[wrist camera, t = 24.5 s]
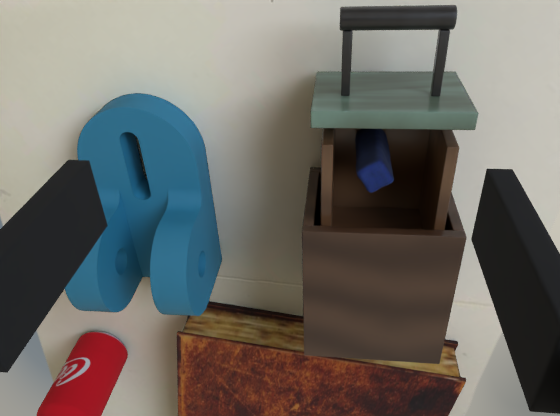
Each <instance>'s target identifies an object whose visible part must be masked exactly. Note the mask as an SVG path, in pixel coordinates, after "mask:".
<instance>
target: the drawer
mask: <svg viewBox="0 0 560 416" xmlns="http://www.w3.org/2000/svg"><path fill="white" fill-rule="evenodd" d="M456 19H457V7H456V5H429V6H362V7H341V8H340V30H343V45H342V72H317V75H316V81H315V88H314V94H313V100H312V107H311V128H323V134H322V145H321V226H339V227H367V228H396V229H424V230H444V229H445V224H446V218H447V213H448V207H449V202H450V196H451V191H452V185H453V180H454V174H455V169H456V163H457V158H458V152H459V146H458V143H457V141H456V138H455V136H454V134H453V131H452V130H475V127H476V122H477V117H478V112H477V110H476V108H475V106H474V104H473V102H472V101H471V99H470V97H469V95H468V93H467V92H466V90H465V88H464V86H463V84H462V82H461V81H460V79H459V77H458V75H457V73H456V72H444V68H445V61H446V54H447V47H448V41H449V34H450V30H449V29H454V27H455V24H456ZM352 30H439V32H438V39H437V47H436V54H435V62H434V69H433V72H351V54H352ZM361 129H382V130H383V131H384V132H385V134H386V136H387V141H388V145H389V151H390V157H391V158H390V160H391V167H392V171H393V177H394V181H393V182H392V183H391V184H389V185H386V186H384V187H382V188H380V189H378V190H377V191H375V192H373V193H370V192H368V191H367V190H366V188H365V186H364V184H363V183H362V181H361V180H360V179H359V178H358V176H357V173H356V149H355V147H356V144H355V138H356V133H357V132H358V131H359V130H361Z"/></svg>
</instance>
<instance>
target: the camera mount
mask: <svg viewBox="0 0 560 416" xmlns="http://www.w3.org/2000/svg"><path fill="white" fill-rule="evenodd" d="M135 136H136V137H137V138H138V140H139V144H140V148H141V153H142V157H143V161H144V166H145V170H146V174H147V179H148V180H147V179H146V178H145V176H144V173H143V168H142V164H141V160H140V156H139V151H138V147H137V143H136V139H135ZM77 153H78V160H89V161H90V165H91V168H92V172H93V175H94V179H95V183H96V186H97V190H98V193H99V197H100V200H101V204H102V207H103V211H104V214H105V218H106V221H107V225H108V226H107V227H106V229H105V230H104V232H103V233H102V235H101V236H100V238H99V239H98V241H97V242H96V243H95V245H94V246H93V248H92V249H91V251H90V252H89V254H88V255H87V257H86V258H85V260H84V261H83V263H82V264H81V265H80V267H79V268H78V270H77V271H76V273H75V274H74V276H73V277H72V279H71V280H70V282H69V283H68V284H67V286H66V287H65V291H66V294H67V296H68V298H69V300H70V302H71V303H72V305H73V306H74V307H75V308H77V309H79V310H82V311H103V312H119V311H121V310H123V309H124V308H125V307H126V306H127V305H128V304H129V302H130V301H131V299H132V297H133V295H134V293H135V291H136V289H137V287H138V285H139V283H140V281H141V279H142V277H150V282H151V291H152V296H153V300H154V303H155V305H156V307H157V309H158V311H159V312H160V313H162V314H168V315H190V316H200V315H201V314H202V313H203V312H204V311H205V309H206V307H207V305H208V302H209V299H210V296H211V293H212V289H213V286H214V283H215V280H216V277H217V274H218V271H219V268H220V265H221V262H222V256H221V249H220V243H219V236H218V229H217V223H216V216H215V210H214V203H213V196H212V190H211V183H210V176H209V170H208V163H207V157H206V150H205V145H204V142H203V139H202V136H201V134H200V132H199V130H198V129H197V127H196V126H195V124H194V123H193V122H192V120H191V119H190V118H189V117H188V116H187V115H186V114H185V113H184V112H183V111H182V110H180V109H179V108H178V107H176V106H175V105H173V104H172V103H170V102H168V101H166V100H164V99H161V98H159V97H156V96H152V95H148V94H139V93H135V94H127V95H123V96H120V97H118V98H115V99H113V100H112V101H110V102H109V103H107V104H106V105H105V106H104V107H103V108H102V109H101V110H100V111H99V112H98V113H97V114H96V115H95V116H94V117H93V118H91V119H90V120H89V121H88V123H87V124H86V125H85V126H84V128H83V130H82V132H81V134H80V137H79V140H78V147H77Z"/></svg>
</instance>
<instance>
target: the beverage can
mask: <svg viewBox="0 0 560 416" xmlns="http://www.w3.org/2000/svg"><path fill="white" fill-rule="evenodd" d="M127 356H128V353H127V349H126V347H125V346H124V344H123V343H122V342H121V341H120V340H119V339H118V338H116V337H115V336H113V335H111V334H109V333H105V332H89V333H85V334H83V335H82V336H81V337H80V338H79V340H78V341H77V343H76V345H75V347H74V348H73V350H72V352H71V353H70V355H69V357H68V359H67V360H66V362H65V364H64V366H63V367H62V369H61V371H60V373H59V374H58V376H57V378H56V380H55V381H54V383H53V385H52V387H51V388H50V390H49V392H48V394H47V395H46V397H45V399H44V400H43V402H42V404H41V406H40V407H39V409H38V412H37V416H101V415H102V413H103V410H104V408H105V406H106V404H107V401H108V399H109V397H110V395H111V393H112V390H113V388H114V386H115V384H116V382H117V379H118V377H119V375H120V373H121V371H122V368H123V366H124V364H125V362H126V360H127Z"/></svg>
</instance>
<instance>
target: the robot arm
mask: <svg viewBox="0 0 560 416" xmlns="http://www.w3.org/2000/svg"><path fill="white" fill-rule="evenodd" d="M107 226H108V225H107V221H106V218H105V214H104V211H103V207H102V204H101V200H100V197H99V193H98V190H97V186H96V183H95V179H94V175H93V172H92V168H91V165H90V161H89V160H68V161H67V162H66V163H65V164H64V165H63V166H62V167H61V168H60V169H59V170H58V171H57V172H56V173H55V174H54V175H53V176H52V177H51V178H50V179H49V180H48V181H47V182H46V183H45V184H44V185H43V186H42V187H41V188H40V189H39V190H38V191H37V192H36V193H35V194H34V195H33V196H32V197H31V198H30V200H29V201H28V202H27V203H26V204H25V205H24V206H23V207H22V208H21V209H20V210H19V211H18V212H17V213H16V214H15V215H14V216H13V217H12V218H11V219H10V220H9V221H8V222H7V223H6V224H5V225H4V226H3V227H2V228H1V229H0V372H8V371H9V369H10V368H11V366H12V365H13V364H14V362H15V361H16V359H17V358H18V356H19V355H20V353H21V352H22V350H23V349H24V347H25V346H26V344H27V343H28V342H29V340H30V339H31V337H32V336H33V334H34V332H35V331H36V330H37V328H38V327H39V325H40V324H41V323H42V321H43V320H44V318H45V317H46V315H47V314H48V312H49V311H50V309H51V308H52V306H53V305H54V304H55V302H56V301H57V299H58V298H59V296H60V295H61V293H62V292H63V290H64V289H65V287H66V286H67V284H68V283H69V282H70V280H71V279H72V277H73V276H74V274H75V273H76V271H77V270H78V268H79V267H80V265H81V264H82V263H83V261H84V260H85V258H86V257H87V255H88V254H89V252H90V251H91V249H92V248H93V246H94V245H95V243H96V242H97V241H98V239H99V238H100V236H101V235H102V233H103V232H104V230H105V229H106V227H107ZM472 242H473V245H474V248H475V251H476V254H477V257H478V260H479V263H480V266H481V269H482V272H483V275H484V278H485V281H486V284H487V286H488V289H489V292H490V295H491V298H492V301H493V304H494V307H495V310H496V313H497V316H498V319H499V322H500V325H501V328H502V331H503V334H504V337H505V339H506V342H507V345H508V348H509V351H510V354H511V357H512V360H513V363H514V366H515V369H516V372H517V375H518V378H519V381H520V384H521V387H522V389H523V392H524V395H525V398H526V401H527V404H528V407H529V410H530V411H533V412H546V413H559V414H560V254H559V252H558V250H557V248H556V246H555V245H554V243H553V241H552V239H551V237H550V236H549V234H548V232H547V230H546V228H545V227H544V225H543V223H542V221H541V220H540V218H539V216H538V214H537V212H536V211H535V209H534V207H533V205H532V203H531V202H530V200H529V198H528V196H527V194H526V193H525V191H524V189H523V187H522V186H521V184H520V182H519V180H518V178H517V177H516V175H515V173H514V171H513V169H487V171H486V175H485V180H484V184H483V189H482V193H481V198H480V202H479V207H478V212H477V216H476V221H475V225H474V230H473V234H472Z"/></svg>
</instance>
